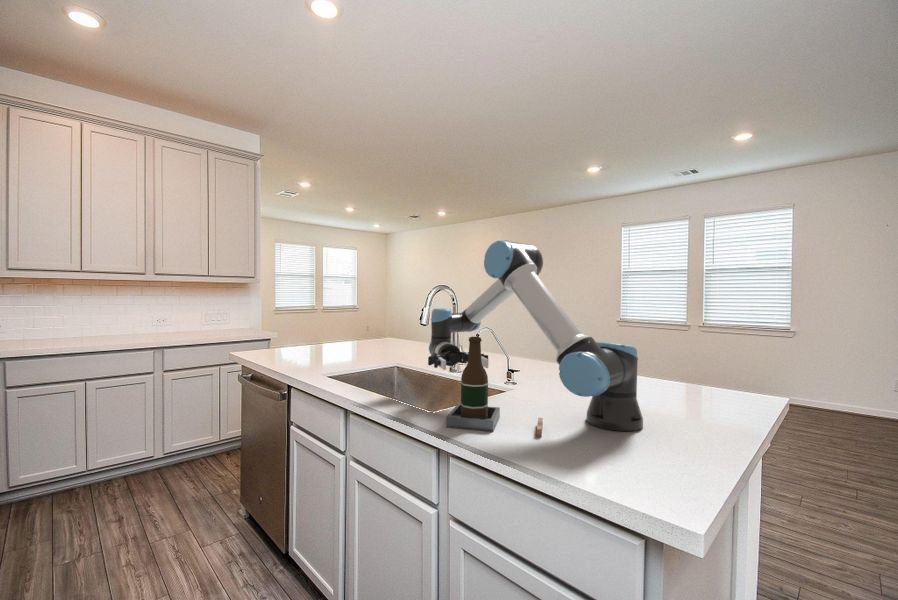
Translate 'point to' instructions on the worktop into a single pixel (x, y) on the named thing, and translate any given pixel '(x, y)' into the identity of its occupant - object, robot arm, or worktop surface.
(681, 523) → the worktop surface
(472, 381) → the beer bottle
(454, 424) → the keeper
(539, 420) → the jamb strip
